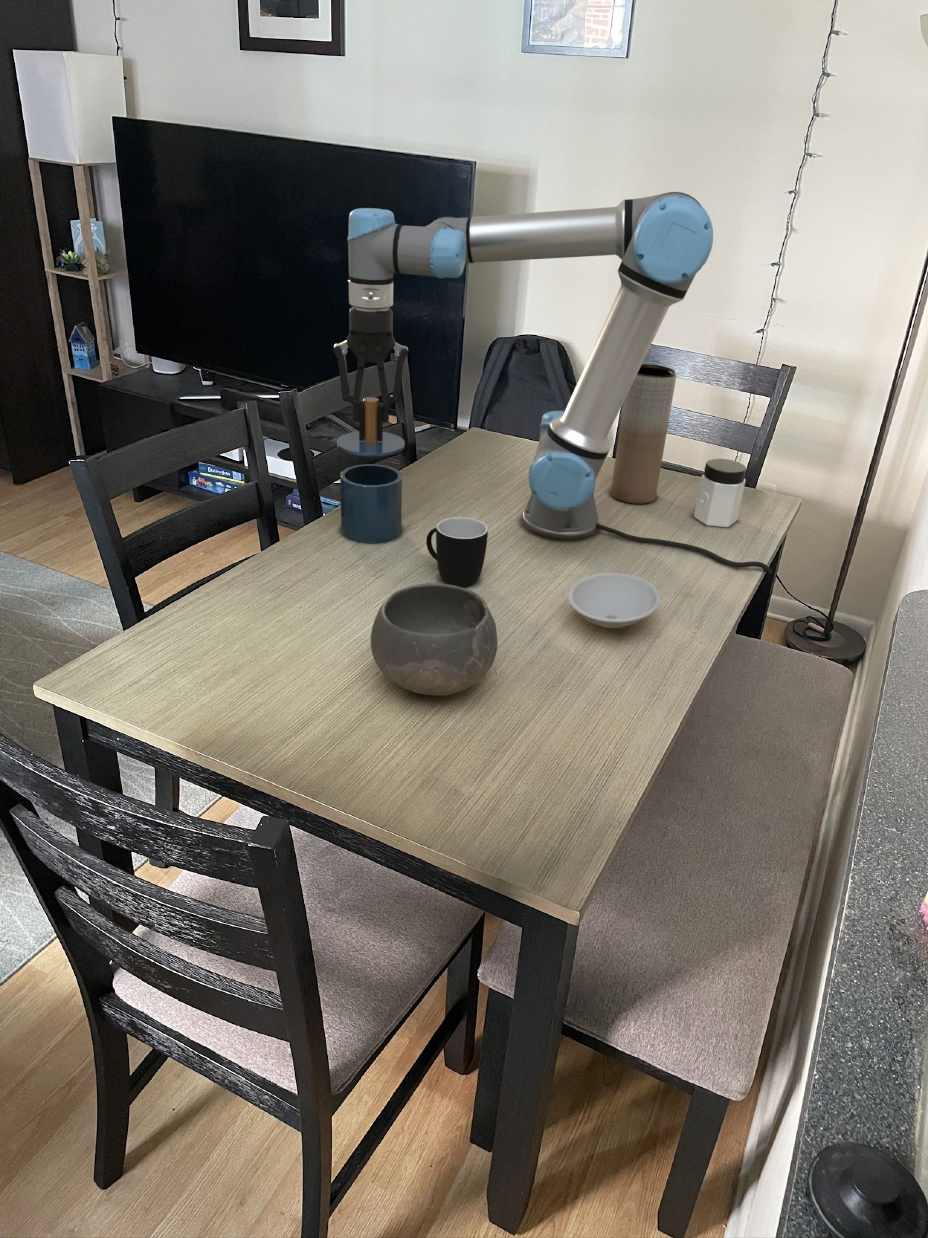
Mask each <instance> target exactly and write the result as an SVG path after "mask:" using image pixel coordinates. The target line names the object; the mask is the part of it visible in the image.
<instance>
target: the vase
mask: <svg viewBox="0 0 928 1238" xmlns="http://www.w3.org/2000/svg"><path fill="white" fill-rule="evenodd" d="M677 375H678V374H677V372H676V370H675V369H673V368H670V367H668V366H664V365H659V364H652V363H651V364H649V363H642V365H641V367H640V369H639V371H638V373H637V375H636V377H635V379H634V381H633V383H632V385H631V387H630V389H629V391H628V394H627V396H626V398H625V400H624V402H623V404H622V410H621V417H620V424H619V429H618V430H619V432H618V436H617V437H618V438H617V439H618V440H617V445H616V453H615V459H614V465H613V471H612V472H613V473H612V479H611V487H610V495H611V496H612V497H613V498H614V499H616V500H618V501H620V502H623V503H628V504H633V505H644V504H645V505H646V504H651V503H652V502H654V501H655V500H656V497H657V491H658V485H659V481H660V474H661V469H662V464H663V463H662V462H663V457H664V453H665V452H664V451H665V446H666V445H665V444H666V439H667V433H668V428H669V421H670V416H671V410H672V405H673V400H674V399H673V398H674V393H675V388H676V387H675V386H676V380H677Z"/></svg>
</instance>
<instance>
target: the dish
mask: <svg viewBox="0 0 928 1238" xmlns="http://www.w3.org/2000/svg"><path fill="white" fill-rule="evenodd" d="M567 595H568V596H567V599H568V602H569V604H570V607H571V608H572V609H573V610H574V611H576V612H577V613H578V614H579V615H580V616H581V617H582V618H584V620H586V621H588V622H589V623H591V624H592V625H596V626H598V627H601V628H606V629H607V628H608V629H620V628H625V627H629V626H632V625H634V624H637V623H638V622H640V621H642V620H644V619H645V618H647V617H649V616H651V615H652V614H653V613H655V612H656V611H657V610H658V608H659V606H660V604H661V594H660V591H659V589H658V588H657V587H656V586H654V584H652V583H651V582H650V581H648V580H646V579H644V578H641V577H639V576H635V575H632V574H629V573H628V574H627V573H621V572H620V573H619V572H603V573H597V574H592V575H588V576H586V577H583V578H581V579H580V580H578V581H577V582H575V583H574V584H573V585H572V586H571V587H570V589H569V591H568V594H567Z"/></svg>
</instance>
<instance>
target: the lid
mask: <svg viewBox="0 0 928 1238" xmlns="http://www.w3.org/2000/svg"><path fill="white" fill-rule="evenodd" d="M362 402H363V434H364V439H363V441H359V430H358V431H351V432H348V433H344V434H342V435H340V436H339V437H338V438H337V440H336V447H337V448H338V449H339V450H340V451H342V452H344V453H347V454H350V455H354V456H361V457H370V458H371V457H373V458H374V457H386V456H391V455H394V454H395V455H396V454H398V453H400V452H402V451H403V450H404V449H405V448H406V447H405V446H406V442H405V440H404V438H402V437H401V436H399V435H397V434H394V433H390V432H388V431H387V432H386V431H383V439H382V441H378V407H379V402H380V400H379V398H377V397H375V396H374V397H373V396H368V397H364V398H363V399H362Z"/></svg>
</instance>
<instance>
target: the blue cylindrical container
mask: <svg viewBox="0 0 928 1238" xmlns="http://www.w3.org/2000/svg"><path fill="white" fill-rule="evenodd" d="M339 480H340V483H339V484H340V485H339V486H340V488H339V489H340V528H341V534H342V535H343V536H344V537H345V538H347V539H349V540H350V541H354V542H358V543H363V544H381V543H386V542H390V541H394V540H395V539H396V538H398V537H399V536H400V535H401V533H402V506H403V504H402V503H403V502H402V501H403V473H401V471H399V470H398V469H396V468H394V467H391V466H389V465H382V464H377V463H376V464H373V463H372V464H371V463H364V464H356V465H352V466H348V467H346V468H345V469H344V470H342V471H341V472H340V475H339Z"/></svg>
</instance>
